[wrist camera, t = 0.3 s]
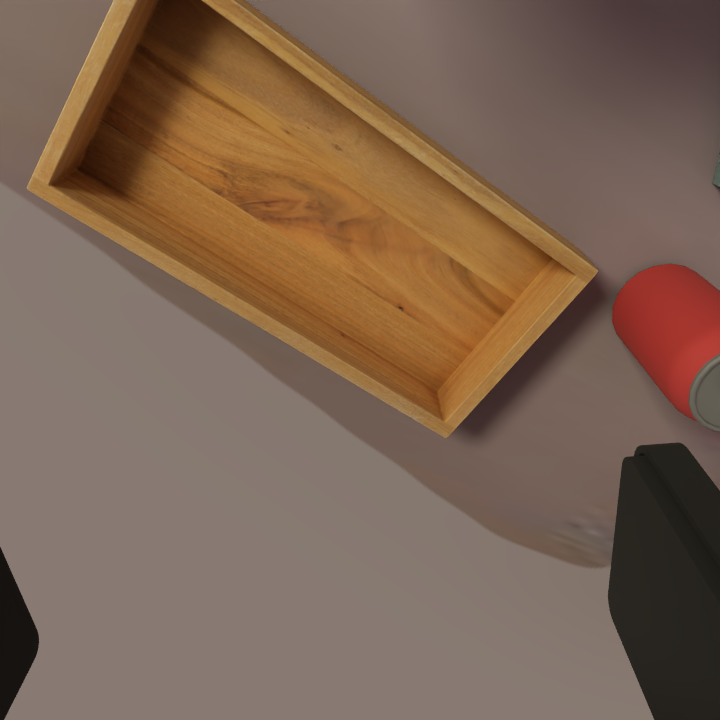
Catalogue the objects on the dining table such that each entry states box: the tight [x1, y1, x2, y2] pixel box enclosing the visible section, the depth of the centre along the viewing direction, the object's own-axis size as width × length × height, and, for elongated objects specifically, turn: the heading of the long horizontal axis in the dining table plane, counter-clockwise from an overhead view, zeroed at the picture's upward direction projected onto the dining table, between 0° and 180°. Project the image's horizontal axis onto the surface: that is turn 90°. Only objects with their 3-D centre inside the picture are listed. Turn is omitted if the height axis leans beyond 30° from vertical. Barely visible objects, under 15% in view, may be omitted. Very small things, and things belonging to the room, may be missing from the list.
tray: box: [27, 0, 598, 438], centre depth 42 cm, size 31×15×6 cm, turn 55°
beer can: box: [612, 264, 720, 432], centre depth 42 cm, size 7×7×12 cm
